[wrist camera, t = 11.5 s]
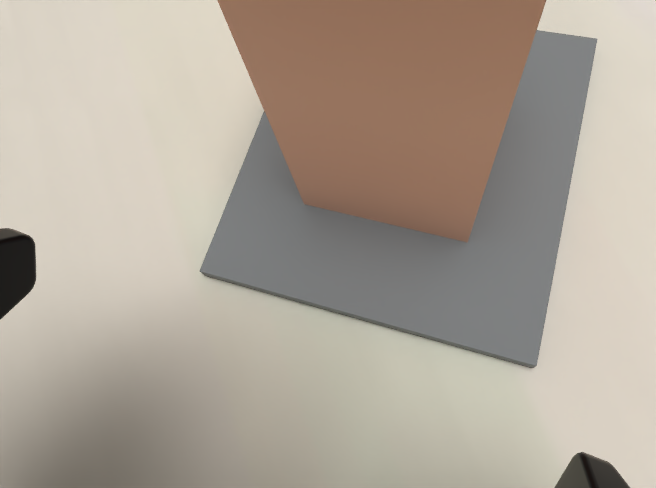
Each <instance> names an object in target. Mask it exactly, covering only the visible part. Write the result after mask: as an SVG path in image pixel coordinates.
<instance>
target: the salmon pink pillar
mask: <svg viewBox="0 0 656 488" xmlns="http://www.w3.org/2000/svg"><path fill="white" fill-rule="evenodd" d="M545 2H546V0H218V3H219V5H220V7H221V10H222V12H223V14H224V17H225V19H226V22H227V24H228V26H229V29H230V31H231V33H232V36H233V38H234V40H235V43H236V45H237V47H238V50H239V52H240V54H241V57H242V59H243V62H244V64H245V66H246V69H247V71H248V73H249V76H250V78H251V80H252V83H253V85H254V87H255V90H256V92H257V94H258V97H259V99H260V102H261V104H262V106H263V109H264V111H265V113H266V116H267V118H268V120H269V123H270V125H271V127H272V130H273V132H274V134H275V137H276V139H277V142H278V144H279V146H280V149H281V151H282V153H283V156H284V158H285V160H286V163H287V165H288V167H289V170H290V172H291V174H292V177H293V179H294V181H295V184H296V186H297V189H298V191H299V193H300V196H301V198H302V200H303V203H304V204H306V205H310V206H314V207H318V208H323V209H327V210H331V211H335V212H340V213H344V214H348V215H352V216H357V217H361V218H365V219H370V220H374V221H378V222H382V223H387V224H391V225H395V226H399V227H404V228H408V229H412V230H416V231H421V232H425V233H429V234H434V235H438V236H442V237H446V238H451V239H455V240H459V241H463V242H468V240H469V236H470V233H471V230H472V227H473V224H474V221H475V218H476V215H477V212H478V209H479V206H480V203H481V199H482V196H483V193H484V190H485V187H486V184H487V181H488V178H489V175H490V172H491V169H492V166H493V163H494V159H495V156H496V153H497V150H498V147H499V144H500V141H501V138H502V135H503V132H504V129H505V126H506V122H507V119H508V116H509V113H510V110H511V107H512V104H513V101H514V98H515V95H516V92H517V89H518V86H519V82H520V79H521V76H522V73H523V70H524V67H525V64H526V61H527V58H528V55H529V52H530V49H531V45H532V42H533V39H534V36H535V33H536V30H537V27H538V24H539V21H540V18H541V15H542V12H543V9H544V5H545Z"/></svg>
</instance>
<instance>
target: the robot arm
mask: <svg viewBox="0 0 656 488" xmlns="http://www.w3.org/2000/svg"><path fill="white" fill-rule="evenodd" d="M35 281H36V254H35V243H34V241H33V239H32V238H31V237H30V236H29V235H26V234H24V233H21V232H19V231H16V230H13V229H9V228H3V229H0V319H2V318H3V317H4V316H5V315H6V314H7V313H8V312H9V311H10V310H11V309H12V308H13V307H14V306H15V305H17V304H18V303H19V302H20V301H21V300H22V299H23V298H24V297H25V296H26V295H27V294H28V293H29V292H30V291H31V290H32V288H33V287H34V284H35ZM555 488H630V487H629V486H628V484H627V483H626V482H625V480H624V479H623V478H622V477H621V475H620V474H619V473H618V471H617V470H616V469H615V468H614V467H613V465H612V464H610V463H609V462H607V461H604V460H602V459H599V458H597V457H594V456H592V455H589V454H586V453H584V452H581V453H577V454H576V455H575V456H574V457H573V458H572V459H571V461H570V463H569V464H568V466H567V468H566V469H565V471H564V473H563V474H562V476H561V478H560V479H559V481H558V483H557V484H556V486H555Z"/></svg>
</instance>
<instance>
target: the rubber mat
mask: <svg viewBox="0 0 656 488" xmlns="http://www.w3.org/2000/svg"><path fill="white" fill-rule="evenodd" d="M596 43H597V39H595V38H588V37H581V36H574V35H566V34H559V33H552V32H545V31H538V30H536V33H535V36H534V39H533V42H532V45H531V49H530V52H529V55H528V58H527V61H526V64H525V67H524V70H523V73H522V76H521V79H520V82H519V86H518V89H517V92H516V95H515V98H514V101H513V104H512V107H511V110H510V113H509V116H508V119H507V122H506V126H505V129H504V132H503V135H502V138H501V141H500V144H499V147H498V150H497V153H496V156H495V159H494V163H493V166H492V169H491V172H490V175H489V178H488V181H487V184H486V187H485V190H484V193H483V196H482V199H481V203H480V206H479V209H478V212H477V215H476V218H475V221H474V224H473V227H472V230H471V233H470V236H469V240H468V242H463V241H459V240H455V239H451V238H446V237H442V236H438V235H434V234H429V233H425V232H421V231H416V230H412V229H408V228H404V227H399V226H395V225H391V224H387V223H382V222H378V221H374V220H370V219H365V218H361V217H357V216H352V215H348V214H344V213H340V212H335V211H331V210H327V209H323V208H318V207H314V206H310V205H306V204H304V203H303V200H302V198H301V196H300V193H299V191H298V189H297V186H296V184H295V181H294V179H293V177H292V174H291V172H290V170H289V167H288V165H287V163H286V160H285V158H284V156H283V153H282V151H281V149H280V146H279V144H278V142H277V139H276V137H275V134H274V132H273V130H272V127H271V125H270V123H269V120H268V118H267V116H266V113H265V111H264V113H263V115H262V118H261V120H260V123H259V125H258V128H257V130H256V133H255V135H254V138H253V140H252V143H251V145H250V148H249V150H248V152H247V155H246V157H245V160H244V162H243V165H242V167H241V170H240V172H239V175H238V177H237V180H236V182H235V185H234V187H233V190H232V192H231V195H230V197H229V200H228V202H227V205H226V207H225V210H224V212H223V214H222V217H221V219H220V222H219V224H218V227H217V229H216V232H215V234H214V237H213V239H212V242H211V244H210V247H209V249H208V252H207V254H206V257H205V259H204V262H203V264H202V267H201V269H200V272H201V273H202V274H204V275H205V276H208V277H212V278H216V279H219V280H223V281H226V282H230V283H233V284H237V285H240V286H244V287H247V288H251V289H254V290H258V291H262V292H265V293H269V294H272V295H276V296H279V297H283V298H286V299H290V300H293V301H297V302H300V303H304V304H308V305H311V306H315V307H318V308H322V309H325V310H329V311H332V312H336V313H339V314H343V315H346V316H350V317H354V318H357V319H361V320H364V321H368V322H371V323H375V324H378V325H382V326H385V327H389V328H392V329H396V330H400V331H403V332H407V333H410V334H414V335H417V336H421V337H424V338H428V339H431V340H435V341H438V342H442V343H446V344H449V345H453V346H456V347H460V348H463V349H467V350H470V351H474V352H477V353H481V354H484V355H488V356H492V357H495V358H499V359H502V360H506V361H509V362H513V363H516V364H520V365H523V366H527V367H530V368H534V367H535V366H537V360H538V355H539V350H540V344H541V339H542V333H543V328H544V323H545V317H546V312H547V307H548V301H549V296H550V290H551V285H552V280H553V274H554V269H555V264H556V258H557V253H558V247H559V242H560V237H561V231H562V226H563V221H564V215H565V210H566V204H567V199H568V194H569V188H570V183H571V177H572V172H573V167H574V161H575V156H576V151H577V145H578V140H579V134H580V129H581V124H582V118H583V113H584V108H585V102H586V97H587V91H588V86H589V81H590V75H591V70H592V64H593V59H594V54H595V48H596Z"/></svg>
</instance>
